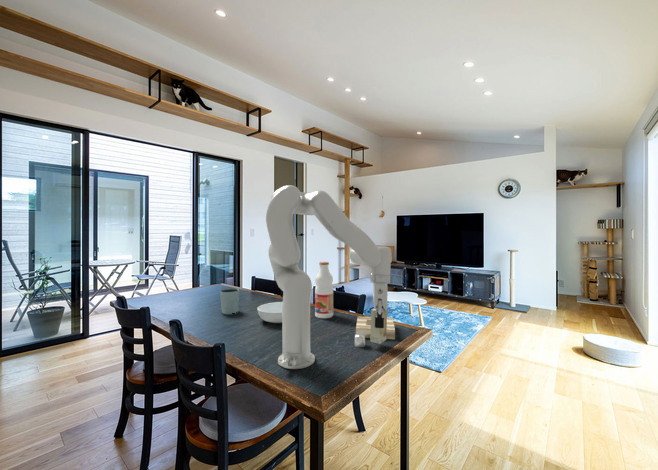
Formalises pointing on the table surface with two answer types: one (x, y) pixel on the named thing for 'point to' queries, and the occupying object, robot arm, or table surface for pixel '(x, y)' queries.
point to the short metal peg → (359, 340)
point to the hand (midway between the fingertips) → (378, 324)
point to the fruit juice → (324, 292)
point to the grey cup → (229, 300)
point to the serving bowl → (271, 312)
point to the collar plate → (365, 327)
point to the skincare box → (378, 333)
